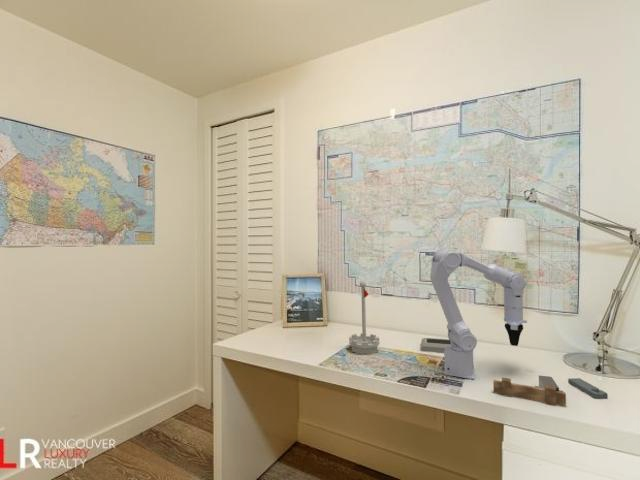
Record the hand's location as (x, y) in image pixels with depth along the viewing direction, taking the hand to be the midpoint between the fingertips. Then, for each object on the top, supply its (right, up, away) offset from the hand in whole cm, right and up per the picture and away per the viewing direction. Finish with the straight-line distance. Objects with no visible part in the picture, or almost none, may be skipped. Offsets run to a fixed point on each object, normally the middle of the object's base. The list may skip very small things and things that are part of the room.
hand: (514, 345), depth 115 cm
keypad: (-17, -10, +25) cm, 32 cm away
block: (0, -10, -17) cm, 19 cm away
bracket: (+14, -10, -15) cm, 22 cm away
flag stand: (-50, -11, +26) cm, 57 cm away
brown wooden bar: (-6, -10, -17) cm, 21 cm away
